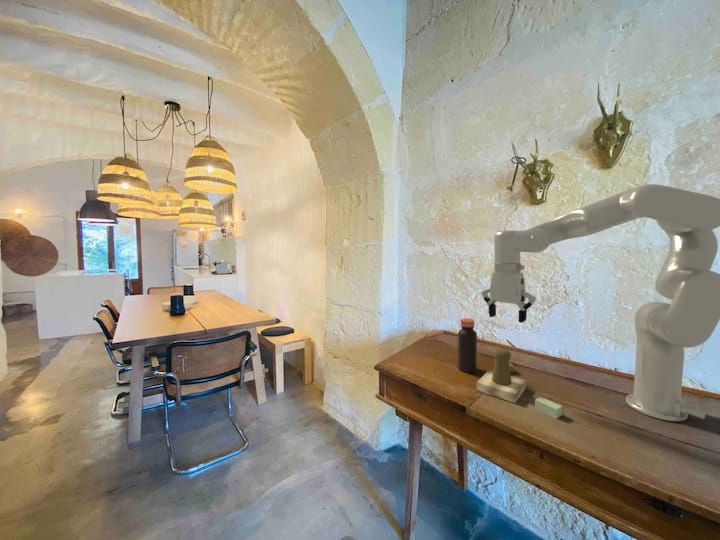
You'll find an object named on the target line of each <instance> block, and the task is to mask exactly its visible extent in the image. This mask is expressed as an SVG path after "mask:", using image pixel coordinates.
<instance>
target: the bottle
mask: <svg viewBox="0 0 720 540" xmlns="http://www.w3.org/2000/svg"><path fill="white" fill-rule="evenodd" d="M460 327H461V329H460V330H459V331H458V332H457V333H458V335H457V336H458V339H457V341H458V345H457V346H458V349H457V351H458V353H457V356H458V357H457V358H458V359H457V360H458V361H457V362H458V363H457V365H458V369H459V371H461V372H463V373H468V374H472V373H475V372H477V361H478V360H477V359H478V358H477V355H478V352H477V351H478V349H477V347H478V345H477V343H478V341H477V339H478V338H477V337H478V335H477V332H476V330H475V329H474V328H475V320H474V319H472V318H461V319H460Z"/></svg>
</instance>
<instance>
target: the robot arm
mask: <svg viewBox="0 0 720 540" xmlns="http://www.w3.org/2000/svg"><path fill="white" fill-rule="evenodd" d="M642 218H644V219H645V218H647V219H648V218H649V219H652V220H655V221H656V223H657V225H658V226H659V227H660V228H661V230H663V231H664V233H665V234H666V235H667V237H668V239H669V244H670V245H669V251H668V253H667V256H666V259H665V260H664V262H663V265H662V266H661V269H660V272H659V273H658V276H657V278H656V280H655V285H654V287H655V291H656V292H657V293H658V294H659V295H660V296H662V297H664V298H665V299H669V300H671V303H667V302H662V301H650V302H647V303H645V304H643V305H641V306H640V307H639V308H638V309H637V311H636V312H635V315H634V327H635V333H636V352H635V366H634V380H633V381H634V382H633V393H631V394H627V396H626V397H625V401H626V403H627V404H628V405H629V407H631V408H632V409H634V410H636V411H638V412H639V413H642V414H644V415H647V416H649V417H651V418H656V419H659V420H663V421H669V422H684V421H686V420H688V417H689V416H693V417H695V418H698V419H701V420H705V417H706V412H705V411H703V410H700V408H699V407H698V406H694V405H691V404H687V402H684V397H682V388H683V387H682V385H683V377H684V376H683V374H684V363H685V349H686V348H687V349H689V348H694V347H695V348H696V347H699V346H701V345H703V344H704V343H705V342H707V341H708V340H709V339H710V337H712V335H713V333H714V332H715V329H716V328H717V326H718V323H719V321H720V273H719V272H716V271H713V270H711V269H712V268H713V265H714V262H715V259H716V256H717V254H718V250H719V243H718V240H717V236H716V234H715V232H714V230H715V229H718V228H719V227H720V198H718V197H716V196H714V195H713V196H712V195H709V194H704V193H700V192H695V191H691V190H686V189H682V188H676V187H672V186H667V185H663V184H656V183H655V184H650V183H649V184H644V185H640V186H637V187H634V188H633V187H632V188H630V189H627V190H624V191H621V192H619V193H616V194H614V195H611V196H609V197H606V198H604V199H601V200H598V201H596V202H593V203H591V204H588V205H585V206H583V207H581V208H577V209H575V210H572V211H570V212H568V213H566V214H563V215H561V216H559V217H557V218H555V219H552V220H549V221H546V222H544V223H541V224H539V225H536V226H532V227H530V228H528V229H523V230H500V231H497V232H495V234H494V247H493V248H494V249H493V251H494V256H493V258H494V271H493V272H492V273H491V279H490V286H489V288H488V289H485V290H483V291H481V293H480V294H481V295H482V297H483V300H484V302H485V303H486V305H487V306H488V314H489V318H493V317H496V316H497V304H496V302H500V303H506V304H513V305H517V307H518V308H519V310H518V323H519V324H520V323H524V322H526V320H527V315H528V314H527V310H529V308H530V307H532V306H533V305H534V303H535V301H536V300H537V297H536V296H535V295H532V294H531V293H529V292H527V291H526V282H525V275H524V272H521V271H522V270H525V265H522V264H521V252H522V253H532V254H537V253H540V252H541V253H542V252H544V251H545V250H547V249H548V248H549V247H550V245H553V244H556V243H559V242H562V241H566V240H570V239H577V238H582V237H587V236H592V235H594V234H597V233H600V232H603V231H605V230H608V229H611V228H613V227H617V226H620V225H623V224H625V223H628V222H631V221H634V220H638V219H642ZM488 294H489V295H488ZM526 299H528V301H527V303H526V302H525V301H526Z"/></svg>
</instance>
